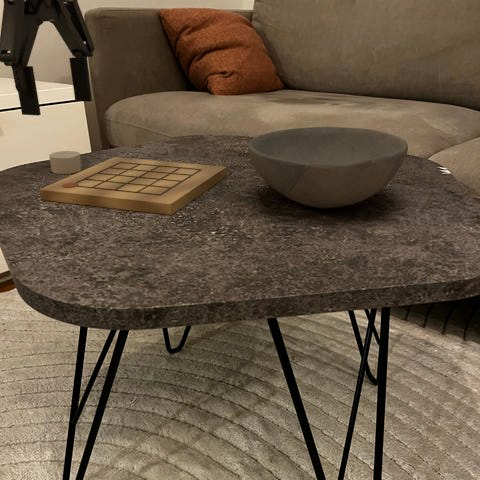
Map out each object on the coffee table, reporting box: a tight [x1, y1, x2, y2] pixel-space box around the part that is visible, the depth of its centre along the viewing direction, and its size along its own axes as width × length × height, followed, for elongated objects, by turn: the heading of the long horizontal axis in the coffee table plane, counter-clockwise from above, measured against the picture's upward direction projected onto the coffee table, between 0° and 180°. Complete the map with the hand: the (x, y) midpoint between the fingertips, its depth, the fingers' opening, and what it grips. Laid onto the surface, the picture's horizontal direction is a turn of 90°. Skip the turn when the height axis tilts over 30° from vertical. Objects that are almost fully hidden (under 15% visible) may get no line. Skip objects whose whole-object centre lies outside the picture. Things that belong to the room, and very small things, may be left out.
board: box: [39, 156, 228, 216], centre depth 87 cm, size 20×20×2 cm
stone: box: [48, 150, 83, 175], centre depth 96 cm, size 5×5×3 cm
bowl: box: [246, 126, 409, 209], centre depth 80 cm, size 21×21×8 cm
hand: (59, 107), depth 91 cm, fingers open, 13 cm apart
